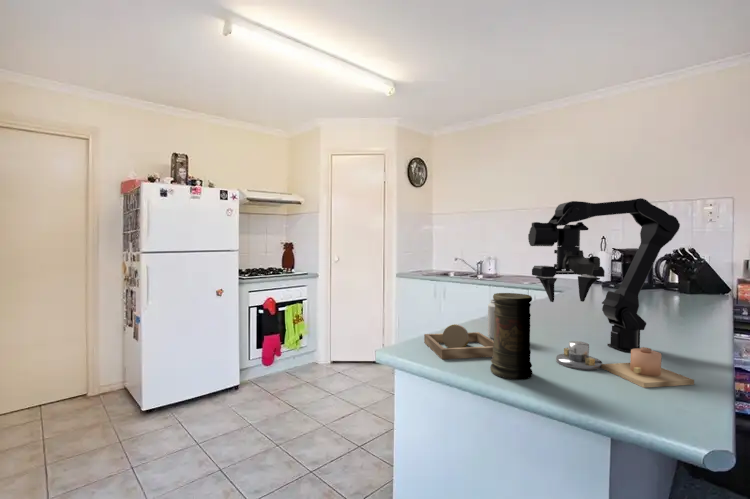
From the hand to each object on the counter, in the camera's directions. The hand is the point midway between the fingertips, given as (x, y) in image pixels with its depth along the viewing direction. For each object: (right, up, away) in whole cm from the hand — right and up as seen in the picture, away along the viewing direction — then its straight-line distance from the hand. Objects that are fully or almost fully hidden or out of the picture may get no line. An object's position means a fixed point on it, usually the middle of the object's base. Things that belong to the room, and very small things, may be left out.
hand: (567, 301), depth 108 cm
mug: (-31, -13, +1) cm, 34 cm away
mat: (+6, -14, -22) cm, 27 cm away
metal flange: (-4, -13, -14) cm, 20 cm away
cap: (+6, -13, -22) cm, 26 cm away
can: (-16, -13, +10) cm, 23 cm away
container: (-23, -14, -21) cm, 34 cm away
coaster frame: (-30, -13, -1) cm, 33 cm away
